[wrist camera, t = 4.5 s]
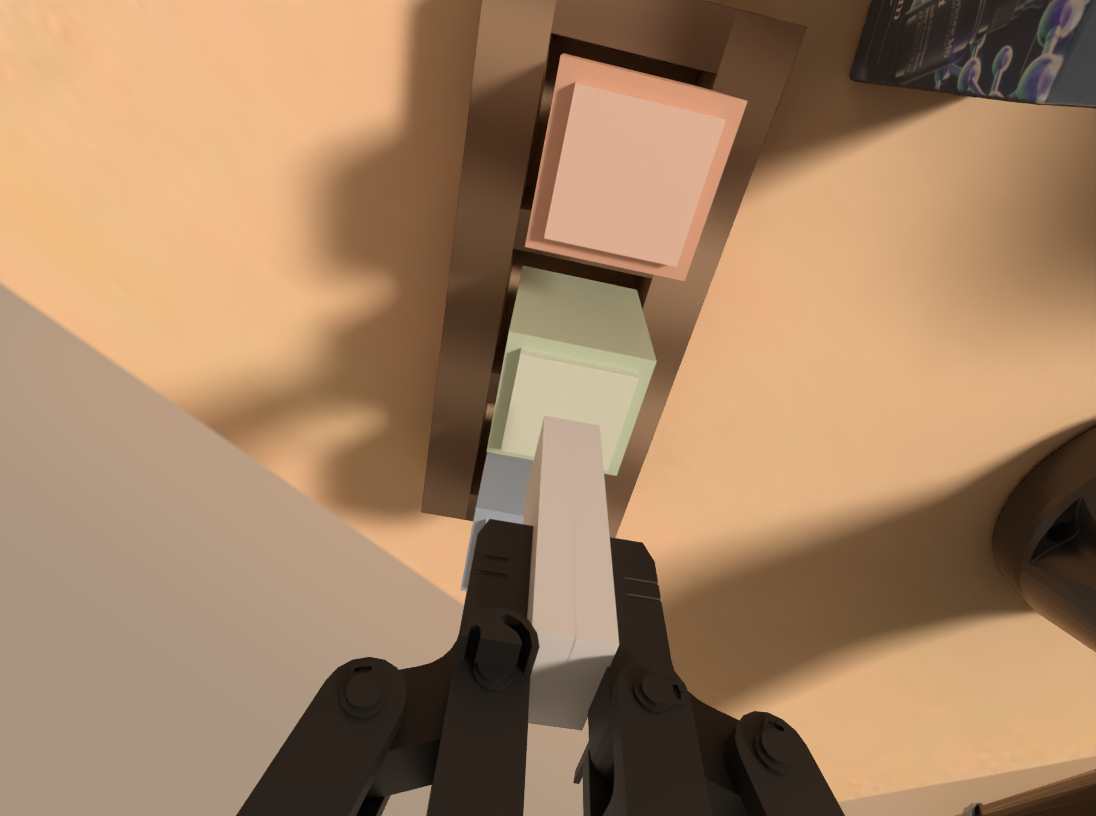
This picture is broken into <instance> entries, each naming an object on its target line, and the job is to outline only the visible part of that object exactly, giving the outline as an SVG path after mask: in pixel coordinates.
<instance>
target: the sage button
mask: <svg viewBox="0 0 1096 816" xmlns="http://www.w3.org/2000/svg"><path fill="white" fill-rule="evenodd" d="M656 362H657V361H656V357H655V353H654V350H653V346H652V343H651V339H650V335H649V332H648V328H647V325H646V321H645V317H644V314H643V310H642V307H641V303H640V299H639V296H638V292H637V290H636V289H631V288H626V287H621V286H617V285H612V284H607V283H603V282H598V281H593V280H589V279H584V278H579V277H574V276H570V275H565V274H560V273H556V272H551V271H546V270H542V269H537V268H532V267H527V266H523V268H522V273H521V277H520V282H519V287H518V291H517V296H516V301H515V305H514V310H513V315H512V319H511V324H510V329H509V334H508V339H507V344H506V350H505V355H504V360H503V366H502V371H501V376H500V382H499V387H498V393H497V398H496V403H495V409H494V414H493V419H492V425H491V430H490V435H489V441H488V446H487V451H486V452H490V453H496V454H501V455H507V456H512V457H517V458H523V459H528V460H534V457H535V453H536V448H537V444H538V440H539V436H540V432H541V427H542V423H543V419H544V415H545V416H550V417H556V418H561V419H567V420H572V421H578V422H583V423H588V424H594V425H599V426H600V434H601V445H602V457H603V468H604V474H609V475H615V476H617V474H618V471H619V468H620V465H621V462H622V459H623V456H624V454H625V451H626V448H627V445H628V442H629V439H630V436H631V433H632V431H633V428H634V425H635V422H636V419H637V416H638V413H639V411H640V408H641V405H642V402H643V399H644V396H645V393H646V390H647V388H648V385H649V382H650V379H651V376H652V373H653V370H654V368H655V365H656Z"/></svg>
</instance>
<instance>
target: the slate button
mask: <svg viewBox="0 0 1096 816" xmlns="http://www.w3.org/2000/svg"><path fill="white" fill-rule="evenodd" d="M533 461H534V460H528V459H523V458H517V457H512V456H507V455H501V454H496V453H490V452H487V456H486V461H485V465H484V470H483V475H482V480H481V485H480V490H479V495H478V500H477V505H476V510H475V515H474V520H473V526H472V531H471V536H470V542H469V547H468V553H467V558H466V563H465V569H464V574H463V579H462V585H461V590H462V591H467V588H468V582H469V577H470V571H471V566H472V561H473V555H474V550H475V545H476V539H477V534H478V533H479V531H480V530H481V529H482V528H483V526H484V525H485V524H486V523H487V521H488V520H489V519H495V520H501V521H507V522H513V523H519V524H523V520H524V509H525V498H526V490H527V486H528V482H529V478H530V474H531V469H532V465H533Z"/></svg>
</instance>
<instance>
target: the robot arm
mask: <svg viewBox="0 0 1096 816" xmlns="http://www.w3.org/2000/svg"><path fill="white" fill-rule="evenodd" d="M993 551H994V556H995V560H996V563H997V565H998V567H999V569H1000V571H1001V572H1002V574H1003V575H1004V576H1005V577H1006V579H1007V580H1008V581H1009V582H1010V583H1011V585H1012V586H1013V587H1014V588H1015V589H1016V591H1017V592H1018V593H1019V594H1020V595H1021V597H1022V598H1023V599H1024V600H1025V601H1026V602H1027V604H1028V605H1030V606H1031V607H1032V608H1033V609H1034V610H1035V611H1036V612H1037V613H1039V614H1040V615H1041V616H1043V617H1044V618H1046V619H1047V620H1049V621H1050V622H1052V623H1053V624H1055V625H1056V626H1058V627H1059V628H1061V629H1062V630H1064V631H1065V632H1067V633H1068V634H1069V635H1071V636H1072V637H1074V638H1075V639H1077V640H1078V641H1080V642H1081V643H1083V644H1084V645H1086V646H1087V647H1089V648H1090V649H1092V650H1093V651H1095V652H1096V427H1094V428H1093V429H1091V430H1089V431H1087V432H1085V433H1084V434H1082V435H1080V436H1079V437H1077V438H1075V439H1074V440H1072V441H1071V442H1069V443H1068V444H1066V445H1065V446H1063V447H1062V448H1060V449H1059V450H1058V451H1056V452H1055V453H1054V454H1052V455H1051V456H1050V457H1049V458H1047V459H1046V460H1045V461H1044V462H1043V463H1041V464H1040V465H1039V466H1038V467H1037V468H1036V469H1035V470H1034V471H1033V472H1032V473H1031V474H1030V475H1029V476H1028V477H1027V478H1026V479H1025V480H1024V481H1023V482H1022V483H1021V484H1020V485H1019V487H1018V488H1017V489H1016V491H1015V492H1014V493H1013V494H1012V496H1011V497H1010V499H1009V500H1008V502H1007V503H1006V505H1005V507H1004V509H1003V511H1002V513H1001V515H1000V517H999V519H998V522H997V525H996V528H995V532H994V538H993ZM657 582H658V580H657V574H656V568H655V562H654V560H653V559H652V557H651V555H650V554H649V552H648V551H647V549H646V547H645V546H644V544H643V543H641V542H635V541H629V540H623V539H617V538H611V537H610V536H609V524H608V513H607V502H606V490H605V479H604V468H603V457H602V445H601V434H600V426H599V425H594V424H588V423H583V422H578V421H572V420H567V419H561V418H556V417H550V416H545V415H544V419H543V423H542V427H541V432H540V436H539V440H538V444H537V448H536V453H535V457H534V461H533V465H532V469H531V474H530V478H529V482H528V486H527V490H526V498H525V509H524V520H523V524H519V523H513V522H507V521H501V520H495V519H489V520H488V521H487V523H486V524H485V525H484V526H483V528H482V529H481V530H480V531H479V533H478V534H477V539H476V545H475V550H474V555H473V561H472V566H471V571H470V577H469V582H468V588H467V593H466V599H465V604H464V610H463V615H462V621H461V626H460V632H459V635H458V639H457V641H456V642H455V644H454V645H453V647H452V648H451V650H450V651H449V652H447V653H446V654H445V655H444V656H443V657H441V658H440V659H438V660H436V661H434V662H432V663H429V664H426V665H422V666H418V667H412V668H407V669H401V670H398V669H397V667H395V666H393V665H392V664H390V663H389V662H387V661H386V660H383V659H378V658H372V657H366V658H360V659H355V660H351V661H349V662H348V663H346V664H344V665H342V666H340V667H338V668H337V669H336V670H335V671H334V672H333V673H332V674H331V675H330V677H329V678H328V679H327V680H326V681H325V682H324V684H323V685H322V687H321V688H320V690H319V691H318V693H317V694H316V696H315V697H314V699H313V701H312V702H311V704H310V705H309V707H308V708H307V710H306V711H305V713H304V714H303V716H302V717H301V719H300V720H299V722H298V723H297V725H296V726H295V728H294V730H293V731H292V732H291V734H290V735H289V737H288V738H287V740H286V742H285V743H284V744H283V746H282V747H281V749H280V750H279V752H278V753H277V755H276V757H275V758H274V759H273V761H272V762H271V764H270V765H269V767H268V768H267V770H266V772H265V773H264V775H263V776H262V778H261V779H260V781H259V782H258V784H257V785H256V787H255V788H254V790H253V791H252V793H251V794H250V796H249V797H248V799H247V800H246V802H245V803H244V805H243V806H242V808H241V809H240V811H239V812H238V814H237V815H236V816H381V815H382V813H383V811H384V808H385V806H386V804H387V802H388V800H389V797H390V795H392V794H397V793H400V792H404V791H409V790H412V789H417V788H420V787H424V786H428V785H432V787H431V792H430V798H429V803H428V809H427V815H426V816H523V808H524V789H525V770H526V751H527V731H528V723H532V724H540V725H547V726H554V727H561V728H569V729H577V730H582V729H583V727H584V725H585V722H586V720H587V718H588V725H589V742H588V744H587V746H586V749H585V751H584V753H583V755H582V757H581V759H580V762H579V764H578V766H577V768H576V771H575V777H574V782H573V783H577V784H579V783H580V781H581V779H582V777H583V808H584V816H845V815H844V813H843V811H842V809H841V808H840V806H839V804H838V802H837V800H836V798H835V797H834V795H833V793H832V791H831V789H830V787H829V786H828V784H827V782H826V780H825V778H824V776H823V775H822V773H821V771H820V769H819V767H818V765H817V764H816V762H815V760H814V758H813V756H812V754H811V753H810V751H809V749H808V747H807V745H806V744H805V743H804V741H803V740H802V739H801V737H800V736H799V734H798V733H797V732H796V730H794V729H793V728H792V727H791V726H790V725H788V724H787V723H786V722H785V721H784V720H783V719H780V718H778V717H776V716H774V715H772V714H770V713H767V712H757V711H754V712H751V713H748V714H746V715H743V717H742V718H741V719H740V721H739V720H737V719H735V718H733V717H731V716H729V715H727V714H725V713H722V712H720V711H718V710H716V709H714V708H712V707H710V706H708V705H706V704H705V703H703V702H701V701H700V700H698V699H697V698H695V697H694V696H693V695H692V694H691V693H690V692H688V691H687V688H686V686H685V684H684V683H683V681H682V680H681V679H680V677H679V676H678V675H677V674H676V672H675V671H674V668H673V665H672V661H671V656H670V650H669V644H668V638H667V632H666V626H665V621H664V615H663V609H662V603H661V602H660V598H661V597H660V591H659V586H658V585H657ZM956 816H1096V769H1095V770H1092V771H1088V772H1085V773H1083V774H1079V775H1076V776H1073V777H1070V778H1067V779H1064V780H1060V781H1057V782H1054V783H1051V784H1048V785H1045V786H1042V787H1039V788H1035V789H1032V790H1029V791H1026V792H1023V793H1020V794H1016V795H1013V796H1010V797H1007V798H1004V799H1001V800H998V801H995V802H992V803H988V804H986V805H983V804H982V803H973V804H970V805H969V806H968V807H965V808H964V810H963V812H962V813H961V814H958V815H956Z"/></svg>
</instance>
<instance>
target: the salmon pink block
mask: <svg viewBox="0 0 1096 816" xmlns="http://www.w3.org/2000/svg"><path fill="white" fill-rule="evenodd" d="M747 102H748V101H746V100H743V99H739V98H736V97H733V96H729V95H726V94H723V93H719V92H716V91H712V90H709V89H706V88H702V87H699V86H695V85H691V84H687V83H683V82H679V81H675V80H670V79H666V78H662V77H658V76H654V75H650V74H646V73H642V72H638V71H634V70H630V69H626V68H621V67H617V66H613V65H609V64H605V63H601V62H597V61H593V60H589V59H585V58H581V57H577V56H572V55H568V54H564V53H563V54H562V55H561V56H560V61H559V67H558V72H557V77H556V83H555V88H554V94H553V99H552V104H551V110H550V115H549V120H548V126H547V131H546V136H545V142H544V147H543V152H542V158H541V163H540V169H539V174H538V179H537V185H536V190H535V195H534V201H533V206H532V211H531V217H530V222H529V227H528V233H527V238H526V243H525V247H528V248H532V249H537V250H542V251H546V252H551V253H555V254H560V255H565V256H569V257H574V258H579V259H583V260H588V261H593V262H597V263H602V264H606V265H611V266H616V267H620V268H625V269H630V270H634V271H639V272H644V273H648V274H653V275H657V276H662V277H667V278H671V279H676V280H681V281H685V279H686V276H687V274H688V271H689V268H690V265H691V262H692V259H693V256H694V253H695V251H696V248H697V245H698V242H699V239H700V236H701V233H702V231H703V228H704V225H705V222H706V219H707V216H708V213H709V210H710V208H711V205H712V202H713V199H714V196H715V193H716V190H717V188H718V185H719V182H720V179H721V176H722V173H723V170H724V168H725V165H726V162H727V159H728V156H729V153H730V150H731V147H732V145H733V142H734V139H735V136H736V133H737V130H738V127H739V125H740V122H741V119H742V116H743V113H744V110H745V107H746V105H747Z"/></svg>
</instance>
